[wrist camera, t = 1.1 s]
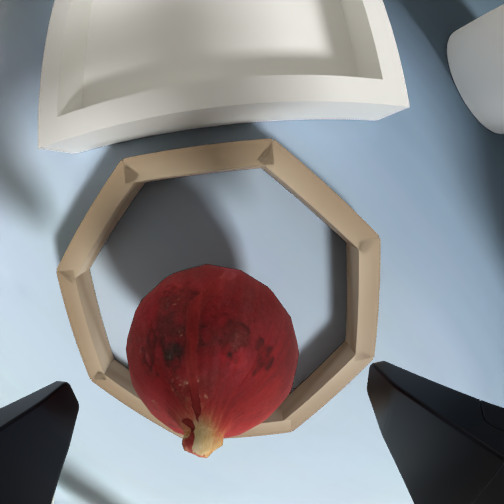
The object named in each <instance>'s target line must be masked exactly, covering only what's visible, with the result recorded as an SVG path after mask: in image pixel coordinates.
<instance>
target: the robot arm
mask: <svg viewBox="0 0 504 504" xmlns="http://www.w3.org/2000/svg"><path fill="white" fill-rule="evenodd" d="M367 392H368V396H369V398H370V401H371V404H372V407H373V410H374V413H375V416H376V419H377V422H378V425H379V428H380V430H381V433H382V436H383V438H384V440H385V442H386V444H387V446H388V448H389V450H390V453H391V455H392V457H393V459H394V461H395V463H396V465H397V467H398V469H399V472H400V474H401V476H402V478H403V480H404V482H405V484H406V487H407V489H408V491H409V493H410V495H411V498H412V500H413V502H414V504H504V408H502V407H499V406H496V405H493V404H490V403H487V402H485V401H482V400H481V401H480V400H479V399H477V398H474V397H471V396H469V395H466V394H464V393H461V392H458V391H456V390H453V389H451V388H448V387H446V386H443V385H441V384H438V383H436V382H433V381H431V380H428V379H426V378H424V377H421V376H419V375H416V374H414V373H411V372H409V371H407V370H404V369H402V368H400V367H397V366H395V365H393V364H390V363H388V362H386V361H381V362H377V363H373V364H371V365H370V368H369V375H368V383H367ZM78 410H79V404H78V401H77V399H76V397H75V394H74V392H73V390H72V388H71V386H70V384H69V383H67V382H62V381H56V382H54V383H52V384H50V385H48V386H46V387H44V388H42V389H40V390H38V391H36V392H34V393H32V394H30V395H28V396H26V397H23V398H21V399H19V400H17V401H15V402H13V403H11V404H9V405H7V406H5V407H3V408H0V504H52V500H53V497H54V493H55V490H56V486H57V483H58V480H59V477H60V473H61V470H62V467H63V464H64V461H65V458H66V455H67V452H68V449H69V446H70V442H71V438H72V434H73V430H74V426H75V422H76V418H77V414H78Z"/></svg>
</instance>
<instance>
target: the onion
mask: <svg viewBox="0 0 504 504" xmlns="http://www.w3.org/2000/svg"><path fill="white" fill-rule="evenodd" d="M126 353H127V360H128V366H129V372H130V377H131V382H132V386H133V387H134V389H135V391H136V393H137V395H138V396H139V397H140V399H141V400H142V402H143V403H144V405H145V406H146V407H147V409H148V410H149V411H150V413H151V414H152V415H153V416H154V417H155V418H157V419H158V420H159V421H160V422H162V423H163V424H164V425H166V426H167V427H169V428H170V429H171V430H173V431H174V432H176V433H179V434H182V435H184V437H183V440H182V445H183V448H184V450H185V451H187V452H190V453H192V454H194V455H197V456H199V457H204V458H207V457H208V456H209V455H210V454H211V453H212V452H213V451H214V450H216V449H217V448H219V447H221V446H222V445H223V438H228V437H233V436H237V435H240V434H242V433H244V432H246V431H248V430H250V429H252V428H253V427H255V426H257V425H259V424H261V423H262V422H264V421H265V420H266V419H268V418H269V417H270V416H271V414H272V413H273V412H274V411H275V410H276V409H277V408H278V407H279V406H280V405H281V403H282V402H283V401H284V400H285V399H286V397H287V396H288V394H289V393H290V391H291V388H292V384H293V380H294V376H295V372H296V367H297V362H298V357H299V351H298V345H297V340H296V336H295V332H294V328H293V324H292V320H291V317H290V315H289V314H288V313H287V311H286V310H285V308H284V307H283V306H282V304H281V303H280V302H279V300H278V299H277V297H276V296H275V295H274V293H273V292H272V291H271V290H270V289H269V287H267V286H266V285H264V284H262V283H261V282H259V281H258V280H256V279H254V278H253V277H251V276H249V275H248V274H246V273H245V272H243V271H241V270H237V269H231V268H226V267H220V266H215V265H210V264H205V265H201V266H197V267H194V268H190V269H186V270H183V271H179V272H175V273H173V274H171V275H170V276H168V277H166V278H165V279H164V280H163V281H162V282H160V283H159V284H158V285H157V286H156V287H155V288H154V289H153V290H152V291H151V292H150V293H148V294H147V295H146V296H145V297H144V298H143V299H142V300H141V302H140V304H139V306H138V307H137V309H136V311H135V314H134V318H133V321H132V324H131V327H130V331H129V334H128V338H127V346H126Z"/></svg>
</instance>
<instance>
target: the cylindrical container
mask: <svg viewBox="0 0 504 504" xmlns="http://www.w3.org/2000/svg"><path fill="white" fill-rule="evenodd" d="M447 58H448V64H449V68H450V72H451V74H452V77H453V80H454V83H455V85H456V87H457V89H458V91H459V93H460V95H461V97H462V99H463V100H464V102H465V104H466V105H467V107H468V108H469V110H470V111H471V113H472V114H473V115H474V116H475V117H476V118H477V120H478V121H479V122H480V123H481V124H482V125H484V126H485V127H486V128H487V129H489V130H491V131H492V132H494V133H498V134H504V4H503V5H501V6H499V7H497V8H496V9H494V10H492V11H490V12H488V13H486V14H484V15H483V16H481V17H479V18H477V19H475V20H474V21H472V22H470V23H468V24H467V25H465V26H463V27H461V28H460V29H458V30H456V31H455V32H453V33H452V34H451V36H450V37H449V40H448V43H447Z"/></svg>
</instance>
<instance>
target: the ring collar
mask: <svg viewBox="0 0 504 504" xmlns="http://www.w3.org/2000/svg"><path fill="white" fill-rule="evenodd" d="M256 168H262V169H263V170H264V171H266V172H267V173H268V174H269V175H270V176H272V177H273V178H274V179H275V180H276V181H278V182H279V183H280V184H281V185H282V186H283V187H285V188H286V189H287V190H288V191H289V192H290V193H292V194H293V195H294V196H295V197H296V198H297V199H299V200H300V201H301V202H302V203H303V204H304V205H305V206H307V207H308V208H309V209H310V210H311V211H312V212H313V213H315V214H316V215H317V216H318V217H319V218H320V219H321V220H322V221H323V222H325V223H326V224H327V225H328V226H329V227H330V228H331V229H332V230H333V231H334V232H336V233H337V234H338V235H339V236H340V237H341V238H342V239H343V240H344V241H345V242H346V249H347V313H346V340H345V341H344V342H343V343H342V344H341V345H340V346H339V347H338V348H337V349H336V350H335V351H334V352H333V353H332V354H331V355H330V356H329V357H328V358H327V359H326V360H325V361H324V362H323V363H322V364H321V365H320V366H319V367H318V368H317V369H316V370H315V371H314V372H313V373H312V374H311V375H310V376H309V377H308V378H307V379H306V380H305V381H303V382H302V383H301V384H300V385H299V386H298V387H297V388H296V389H295V390H294V391H293V392H291V393H290V394H289V395H288V396H287V397H286V399H285V400H284V401H283V402H282V403H281V405H280V406H279V407H278V408H277V409H276V410H275V411H274V412H273V413H272V414H271V416H270V417H269V418H268V419H266V420H265V421H264V422H262V423H261V424H259V425H257V426H255V427H253V428H252V429H250V430H248V431H246V432H244V433H242V434H240V435H237V436H233V437H228V438H238V437H251V436H262V435H271V434H279V433H287V432H291V431H294V430H295V429H296V428H297V427H299V426H300V425H301V424H302V423H304V422H305V421H306V420H307V419H309V418H310V417H311V416H312V415H313V414H315V413H316V412H317V411H318V410H319V409H320V408H322V407H323V406H324V405H325V404H326V403H327V402H329V401H330V400H331V399H332V398H333V397H334V396H335V395H336V394H337V393H339V392H340V391H341V390H342V389H343V388H344V387H345V386H346V385H347V384H348V383H349V382H350V381H351V380H352V379H354V378H355V377H356V376H357V375H358V374H359V373H360V372H361V371H362V370H363V369H364V368H365V367H366V366H367V365H368V364H369V363H370V362H371V361H372V360H373V357H374V354H375V345H376V334H377V322H378V308H379V289H380V238H379V235H378V234H377V233H376V232H375V231H374V230H373V229H372V228H371V227H370V226H369V225H368V224H367V223H366V222H365V221H364V220H363V219H362V218H361V217H360V216H359V215H358V214H357V213H356V212H355V211H354V210H353V209H352V208H351V207H350V206H349V205H348V204H347V203H346V202H345V201H343V200H342V199H341V198H340V197H339V196H338V195H337V194H336V193H335V192H334V191H333V190H332V189H331V188H330V187H328V186H327V185H326V184H325V183H324V182H323V181H322V180H321V179H320V178H319V177H317V176H316V175H315V174H314V173H313V172H312V171H311V170H310V169H308V168H307V167H306V166H305V165H304V164H303V163H302V162H300V161H299V160H298V159H297V158H296V157H295V156H293V155H292V154H291V153H290V152H289V151H288V150H286V149H285V148H284V147H283V146H282V145H280V144H279V143H278V142H277V141H276V140H273V141H272V138H271V139H257V140H246V141H235V142H225V143H217V144H208V145H200V146H193V147H186V148H179V149H173V150H167V151H161V152H155V153H149V154H144V155H138V156H133V157H128V158H123V160H121V161H120V162H119V164H118V165H117V167H116V168H115V170H114V171H113V173H112V174H111V175H110V177H109V178H108V180H107V182H106V183H105V185H104V186H103V188H102V189H101V191H100V192H99V194H98V196H97V197H96V199H95V200H94V202H93V204H92V205H91V207H90V209H89V210H88V212H87V214H86V215H85V217H84V219H83V220H82V222H81V224H80V226H79V228H78V229H77V231H76V233H75V235H74V237H73V238H72V240H71V242H70V244H69V246H68V248H67V250H66V252H65V254H64V256H63V258H62V260H61V262H60V264H59V266H58V268H57V271H56V272H57V276H58V281H59V285H60V289H61V293H62V297H63V300H64V304H65V308H66V311H67V314H68V318H69V321H70V324H71V328H72V331H73V334H74V337H75V340H76V343H77V346H78V348H79V351H80V354H81V357H82V359H83V362H84V365H85V367H86V370H87V372H88V375H89V377H90V379H92V380H91V381H93V382H94V383H95V384H97V385H98V386H99V387H101V388H102V389H103V390H105V391H106V392H108V393H109V394H110V395H112V396H113V397H115V398H116V399H118V400H119V401H121V402H122V403H124V404H125V405H127V406H128V407H130V408H131V409H133V410H134V411H136V412H138V413H139V414H141V415H142V416H144V417H146V418H147V419H149V420H151V421H152V422H154V423H156V424H157V425H159V426H161V427H163V428H164V429H166V430H168V431H170V432H171V433H173V434H175V435H177V436H179V437H181V438H183V437H184V435H182V434H179V433H176V432H174V431H173V430H171V429H170V428H169V427H167V426H166V425H164V424H163V423H162V422H160V421H159V420H158V419H157V418H155V417H154V416H153V415H152V414H151V413H150V411H149V410H148V409H147V407H146V406H145V405H144V403H143V402H142V400H141V399H140V397H139V396H138V395H137V393H136V391H135V389H134V387H133V386H132V382H131V377H130V372H129V369H127V368H126V367H124V366H123V365H122V364H120V363H119V362H118V361H116V360H115V359H114V357H113V354H112V351H111V348H110V345H109V341H108V338H107V335H106V332H105V328H104V325H103V321H102V318H101V314H100V310H99V306H98V303H97V299H96V295H95V290H94V286H93V282H92V277H91V273H90V267H91V266H92V264H93V262H94V260H95V259H96V257H97V255H98V254H99V252H100V250H101V249H102V247H103V245H104V244H105V242H106V241H107V239H108V237H109V236H110V234H111V233H112V231H113V229H114V228H115V226H116V225H117V223H118V222H119V220H120V219H121V217H122V216H123V214H124V213H125V211H126V210H127V208H128V207H129V205H130V204H131V202H132V201H133V199H134V198H135V197H136V195H137V194H138V192H139V191H140V189H141V188H142V187H143V185H144V184H145V182H151V181H158V180H164V179H171V178H178V177H185V176H192V175H200V174H208V173H217V172H226V171H235V170H245V169H256Z"/></svg>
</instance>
